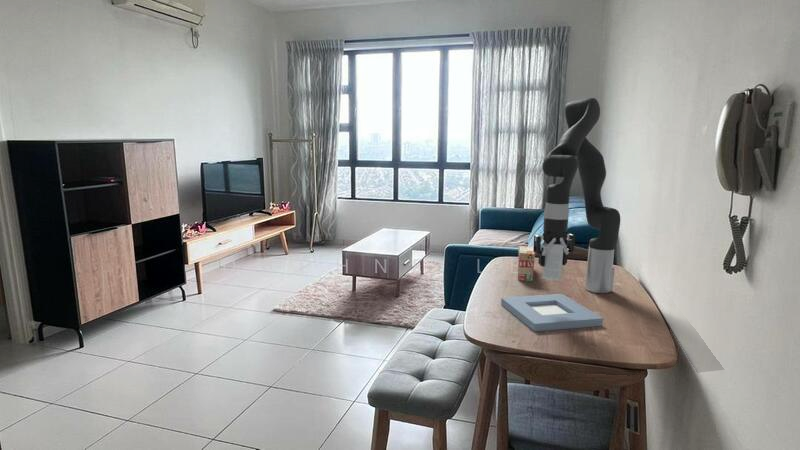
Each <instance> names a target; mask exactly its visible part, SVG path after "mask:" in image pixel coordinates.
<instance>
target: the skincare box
mask: <svg viewBox="0 0 800 450" xmlns="http://www.w3.org/2000/svg"><path fill="white" fill-rule="evenodd" d="M547 245H548V244H547V243H545V244H544V246H547ZM563 248H564V244H553V245H552V246H551V248H550V249H549V250H548V251H547V252H546V254H545V266H543V267H542V276H541V277H542V279H545V280H556V281H562V275H563V274H562V272H563V265H562V261H563Z"/></svg>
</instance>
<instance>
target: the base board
mask: <svg viewBox="0 0 800 450" xmlns="http://www.w3.org/2000/svg"><path fill="white" fill-rule="evenodd" d="M500 299H501V300H500V301H501V302H500V305H501V306H502V307H504V308H505V309H506V310H507V311H509V312H510V313H511V314H512V315H513V316H514V317H515V318H517V319H518V320H519V321H521V323H523V324H524V325H526V327H528V328H529V329H530V330H532V331H533V332H542V331H546V332H547V331H554V330H555V331H556V330H566V329H579V328H591V327H600V326H601V327H602V326H603V323H604V318H603V317H601V316H600V315H598V314H597V313H595V312H593V311H592V310H590V309H589V308H586V307H585V306H583V305H581V304H579V303H578V302H576V301H575V300H573V299H571V298H569V297H568V296H566V295H565V294H563V293H552V294H538V295H535V294H534V295H522V296H508V297H501V298H500Z"/></svg>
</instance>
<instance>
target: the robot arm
mask: <svg viewBox="0 0 800 450" xmlns="http://www.w3.org/2000/svg"><path fill="white" fill-rule="evenodd" d="M564 116H565V121H566V125H567V128H568V129H567V130H566V131H565V132H564V133H563V134H562V135H561V137H560V139H559V141H558V143H557V145H556V146H555V147H554V148H553V149H552V150H551V151H550V152H549V153H548V154H547V155H546V156H545V158H544V159H543V162H542V172H543V173H544V175H546V176H547V177H553V178H554V177H555V178H563V180H562V181H561V182H559V183H553V184H552V183H551V184H549V185H547V188H546V198H545V199H546V200H545V207H544V213H543V214H544V216H543V228H542V230H543V232H542V234H541V235H538V234H535V235H534V236H533V246H532V247H533V251H534V252H535V254H537V255H538V264H539V266H540V267H542V268H543V266H545V254H546V252H547V251H548V250H549V249H550V248H551V246H552V245H553V244H564V248H563V261H562V266H566V264H567V263H568V255H569V254H570V253H574V250H575V243H576V235H575V234H572V233H568V234H567V231H568V227H569V226H568V225H569V215H570V214H569V213H570V207H569V205H570V204H569V203H570V192H571V187H572V185H573V184H572V183H573V181H574V178H575V176H576V174H577V172H578V174H579V177H580V178H579V179H580V182H581V187H582V192H583V198H584V204H585V205H584V206H585V207H584V208H585V217H586V220H587V221H586V222H587V224H588V226H589V227H591V228H592V229H594V230H598V231H599V232H598V236H596V237H594V238H591V239H589V243H588V253H587V263H586V264H587V265H586V273H585V274H586V275H585V285H584V286H585V287H584V289H585V290H587V291H588V292H592V293H595V294H596V293H597V294H607V293H608V294H609V293H610V292H613V289H614V278H615V270H616V269H615V267H614V259H615V258H614V257H615V248H616V247H615V246H616V245H617V242H618V238H619V232H620V227H621V214H620V211H619V210H618V209H616V208H613V207H609V206H604V205H603V201H602V196H601V195H602V194H601V191H602V188H603V185H604V184H605V180H606V178H607V177H606V176H607V168H606V165H605V159H604V155H603V154H602V153H601V151H599V150H598V148H597V147H596V146H594V145H593V143H591V142H590V140H588V138H587V136H588V134H589V133H590V132H591V131H592V130H593V128H594V127H595V126H596V125H597V123H598V121H599V119H600V117H601V107H600V103H599V101H598V100H597V99H596V98H595V97H587V98H582V99H578V100H573V101H569V102H567V103H566V104H565V106H564ZM566 240H567V241H566ZM565 241H566V243H565ZM545 243H547V244H548V245H547V246H544V244H545Z"/></svg>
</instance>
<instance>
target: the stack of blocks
mask: <svg viewBox="0 0 800 450" xmlns="http://www.w3.org/2000/svg"><path fill="white" fill-rule="evenodd" d="M533 247H534V246H522V245H519V247H518V257H517V258H518V259H517V260H518V261H517V262H518V263H517V281H521V282H524V281H525V282H534V270H535V268H534V267H535V260H536V259H535V258H536V257H535V256H536V253H535V252H534V251H533Z"/></svg>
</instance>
